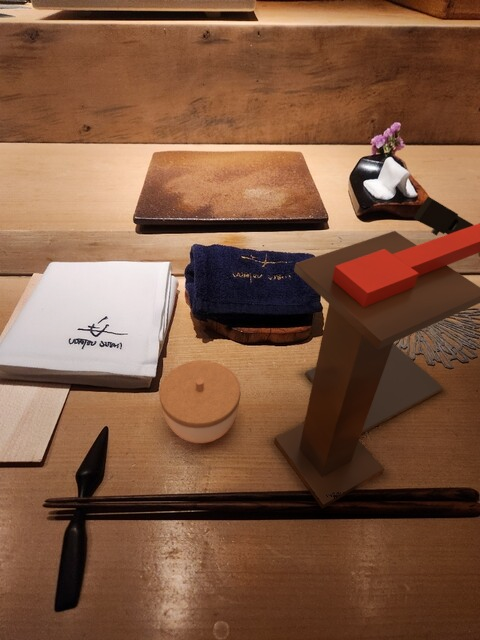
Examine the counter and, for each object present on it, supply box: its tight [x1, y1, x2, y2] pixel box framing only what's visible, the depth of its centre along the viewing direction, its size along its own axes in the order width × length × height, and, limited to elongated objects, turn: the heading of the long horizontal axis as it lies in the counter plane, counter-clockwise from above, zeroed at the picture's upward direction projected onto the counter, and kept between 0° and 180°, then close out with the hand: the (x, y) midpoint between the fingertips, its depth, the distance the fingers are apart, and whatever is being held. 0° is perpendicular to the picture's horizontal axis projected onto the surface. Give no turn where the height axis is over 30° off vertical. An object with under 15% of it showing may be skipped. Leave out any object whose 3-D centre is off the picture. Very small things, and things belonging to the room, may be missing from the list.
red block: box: [332, 222, 480, 307], centre depth 44 cm, size 4×20×2 cm, turn 120°
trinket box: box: [158, 359, 241, 444], centre depth 63 cm, size 11×11×9 cm
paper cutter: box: [304, 343, 444, 435], centre depth 72 cm, size 13×17×1 cm
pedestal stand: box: [273, 230, 480, 510], centre depth 53 cm, size 12×13×30 cm
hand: (472, 238), depth 46 cm, fingers open, 13 cm apart
